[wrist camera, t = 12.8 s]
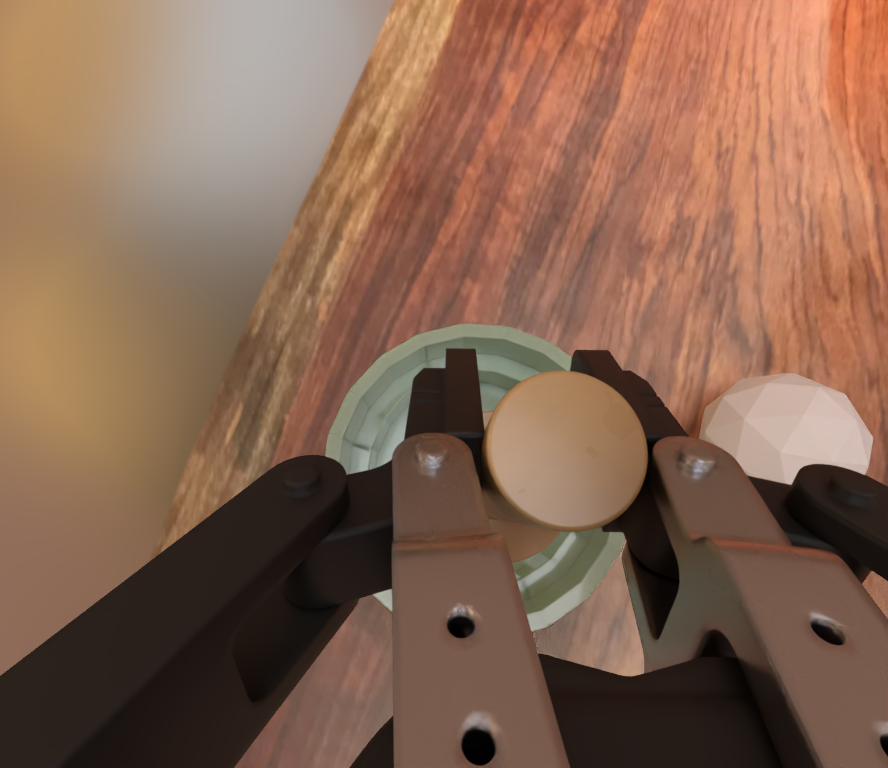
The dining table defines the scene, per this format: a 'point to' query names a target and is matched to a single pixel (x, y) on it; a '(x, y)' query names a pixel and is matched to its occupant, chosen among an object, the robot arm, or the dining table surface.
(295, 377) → the dining table surface
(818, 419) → the geometric ball
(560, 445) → the wooden peg on base
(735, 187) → the dining table surface
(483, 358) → the bowl
